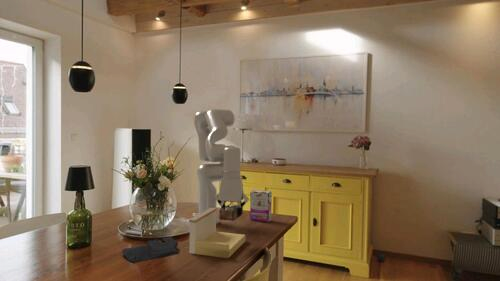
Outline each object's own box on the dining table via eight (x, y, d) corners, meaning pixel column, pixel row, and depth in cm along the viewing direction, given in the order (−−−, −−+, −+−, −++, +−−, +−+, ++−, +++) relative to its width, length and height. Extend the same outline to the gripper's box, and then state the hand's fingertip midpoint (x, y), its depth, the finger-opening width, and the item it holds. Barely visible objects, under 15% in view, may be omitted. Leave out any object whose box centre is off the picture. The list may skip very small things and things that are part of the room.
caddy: (219, 219, 153) (219, 208, 153) (229, 213, 164) (229, 203, 164) (233, 220, 151) (233, 210, 151) (242, 214, 162) (242, 204, 162)
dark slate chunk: (118, 253, 147) (118, 242, 147) (167, 243, 160) (167, 233, 160) (131, 265, 135) (131, 253, 135) (183, 253, 148) (183, 242, 148)
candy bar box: (271, 220, 199) (272, 191, 199) (268, 222, 195) (269, 192, 194) (253, 218, 204) (253, 189, 203) (249, 220, 199) (250, 191, 198)
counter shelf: (188, 253, 147) (188, 219, 146) (210, 237, 169) (210, 207, 168) (227, 258, 142) (228, 223, 141) (245, 241, 163) (245, 210, 163)
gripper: (210, 175, 156) (209, 216, 157) (248, 177, 151) (247, 219, 151) (216, 173, 163) (216, 212, 164) (253, 175, 158) (252, 215, 159)
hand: (231, 215), depth 158 cm, fingers closed on caddy, 6 cm apart
